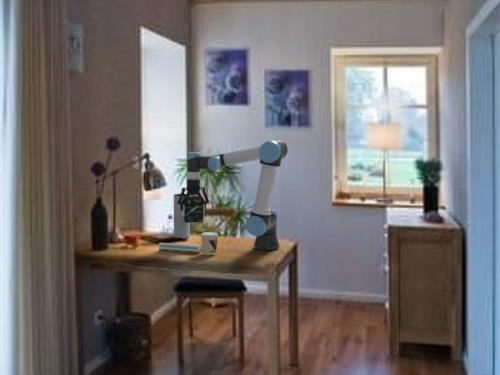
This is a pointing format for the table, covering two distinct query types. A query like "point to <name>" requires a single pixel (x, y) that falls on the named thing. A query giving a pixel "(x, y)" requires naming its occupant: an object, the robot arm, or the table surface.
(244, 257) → the table surface
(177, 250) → the shelf board
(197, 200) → the tampon box
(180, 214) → the vase
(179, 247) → the price rail
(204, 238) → the coffee cup
